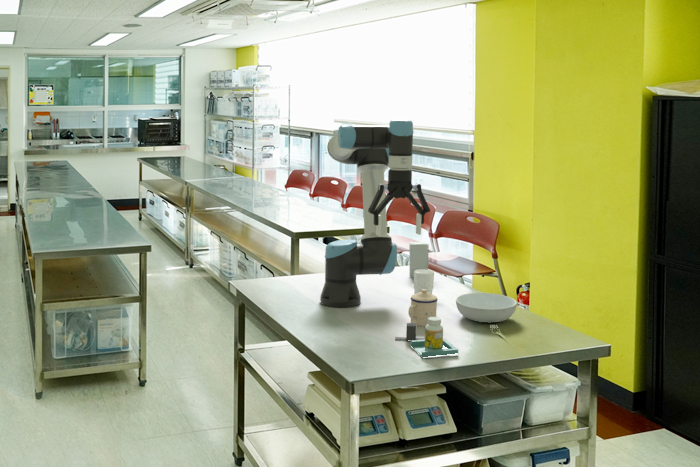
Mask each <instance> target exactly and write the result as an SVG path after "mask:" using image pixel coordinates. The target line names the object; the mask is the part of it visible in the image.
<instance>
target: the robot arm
mask: <svg viewBox="0 0 700 467" xmlns="http://www.w3.org/2000/svg"><path fill="white" fill-rule="evenodd" d="M388 124H389V125H357V124H356V125H355V124H353V125H352V124H345V125H340V126H339V127H338V129H337V134H335V135H334V136H332V137H331V138H330V139H329V140H328V142H327V148H326V149H327V153H328V155H329V156H330V157H331V158H332V159H333V160H334V161H335V162H338V163H341V164H345V165H357V166H356V167H357V171H358V172H359V173H360V174H361V184H362V185H361V186H362V187H361V189H362V207H363V208H362V209H363V223H364V224H363V225H364V226H363V229H364V232H363V233H364V235H363V236H362V238H360V243H358V241H357V240H356V239H351V238H350V239H347V238H346V239H337V240H335V241H332V242H329V243H328V244H326V247H325V254H324V259H325V261H324V262H325V263H324V264H325V265H324V266H325V267H324V268H325V269H324V270H325V272H324V274H325V276H324V280H325V281H324V285H323V288H322V291H321V293H320V301H321V302H320V304H321V303H322V304H321V305H323V304H324V305H323V306H326V305H327V307H330V306H331V307H332V308H349V307H350V308H351V307H352V308H353V307H355V306H356V307H357V306H359V305H360V304H361V302H362V300H361V299H362V298H361V293H360V290H359V286H358V283H357V276H362V275H363V276H364V275H380V276H381V275H389V274H392V273H393V272H394V270H395V268H396V264H397V259H398V248H397V247H398V245H397V244H396V243H395V242H392V236H390V235H389V233H388V223H387V205H388V204H389V203H390V202H391V200H393V199H405V198H406V199H408V200H409V202H410V203H411V205H413V208H415V210H416V211H417V212H418V213H416V217H415V218H416V219H415V220H416V222H415V225H416V226H415V233H416V235H422V225H423V224H424V223H425V215H426V214H427V213H430V212H431V208H430V206H429V205H428V203H427V200H426V198H425V196H424V195H425V194H423V191H422V185H421V184H420V183H418V182H417V183H415V184H412V179H413V171H412V168H413V144H414V142H413V141H414V140H413V139H414V138H413V137H414V123H413V121H412V120H409V119H408V120H407V119H392V120H390V122H389V123H388ZM388 168H389V170H387V169H388ZM386 171H388V172H387V174H388V175H387V178H388V179H387V185H385V172H386ZM386 190H387V191H388V193H387V194H386ZM412 190H413V191H414V192H415V194H416V195H417V197H418V200H419V202H420V204H419V203H418V202H417V200H416V198H414V196H413V194H412V193H411V192H412Z"/></svg>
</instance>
